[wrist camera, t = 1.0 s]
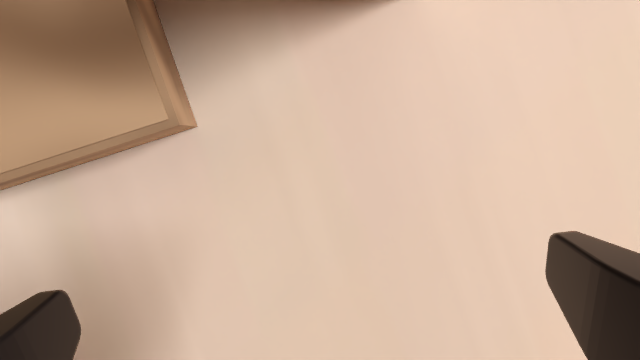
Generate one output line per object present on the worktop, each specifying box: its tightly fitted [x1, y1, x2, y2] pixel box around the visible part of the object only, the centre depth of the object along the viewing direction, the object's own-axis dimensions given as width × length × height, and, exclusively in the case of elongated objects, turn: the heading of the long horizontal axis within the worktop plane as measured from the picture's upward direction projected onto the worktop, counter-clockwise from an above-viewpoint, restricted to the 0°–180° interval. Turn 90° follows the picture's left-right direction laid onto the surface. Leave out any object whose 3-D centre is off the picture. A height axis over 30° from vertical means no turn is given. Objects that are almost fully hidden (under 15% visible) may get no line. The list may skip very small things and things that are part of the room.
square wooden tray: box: [0, 0, 197, 190], centre depth 17 cm, size 9×9×3 cm
